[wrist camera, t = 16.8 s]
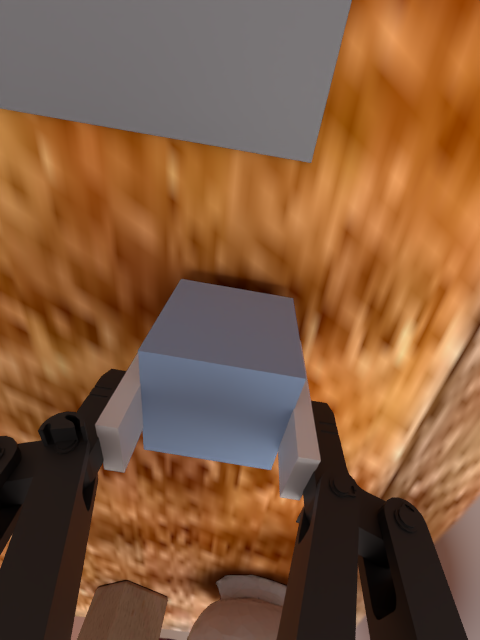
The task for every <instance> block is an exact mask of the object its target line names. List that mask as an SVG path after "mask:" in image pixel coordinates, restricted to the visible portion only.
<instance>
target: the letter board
mask: <svg viewBox="0 0 480 640" xmlns="http://www.w3.org/2000/svg"><path fill="white" fill-rule="evenodd" d="M351 1H352V0H0V108H2V109H7V110H13V111H19V112H24V113H30V114H36V115H41V116H47V117H53V118H59V119H64V120H70V121H76V122H81V123H87V124H93V125H98V126H104V127H110V128H116V129H121V130H127V131H133V132H138V133H144V134H150V135H155V136H161V137H167V138H173V139H178V140H184V141H190V142H195V143H201V144H207V145H212V146H218V147H224V148H230V149H235V150H241V151H247V152H252V153H258V154H264V155H269V156H275V157H281V158H287V159H292V160H298V161H304V162H309V163H311V161H312V157H313V153H314V149H315V145H316V141H317V137H318V133H319V129H320V125H321V121H322V117H323V113H324V109H325V105H326V101H327V97H328V93H329V89H330V85H331V81H332V77H333V73H334V69H335V65H336V61H337V57H338V53H339V49H340V45H341V41H342V37H343V33H344V29H345V25H346V21H347V17H348V13H349V9H350V5H351Z"/></svg>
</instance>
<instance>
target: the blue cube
mask: <svg viewBox="0 0 480 640" xmlns="http://www.w3.org/2000/svg"><path fill="white" fill-rule="evenodd" d="M138 358H139V375H140V384H141V399H142V414H143V444H144V449H145V450H151V451H157V452H163V453H169V454H176V455H182V456H188V457H194V458H200V459H206V460H212V461H219V462H225V463H231V464H237V465H243V466H249V467H255V468H262V469H268V470H271V468H272V465H273V463H274V460H275V458H276V455H277V452H278V449H279V446H280V443H281V441H282V438H283V435H284V433H285V430H286V427H287V425H288V422H289V419H290V417H291V414H292V411H293V409H295V406H296V404H297V401H298V399H299V396H300V394H301V391H302V389H303V386H304V383H305V381H306V374H305V368H304V362H303V356H302V350H301V344H300V338H299V332H298V326H297V319H296V313H295V307H294V301H293V298H289V297H283V296H277V295H272V294H266V293H260V292H254V291H249V290H243V289H237V288H231V287H226V286H220V285H214V284H208V283H203V282H197V281H191V280H185V279H181V280H180V282H179V283H178V285H177V287H176V288H175V290H174V292H173V293H172V295H171V297H170V298H169V300H168V302H167V303H166V305H165V307H164V308H163V310H162V312H161V313H160V315H159V317H158V318H157V320H156V322H155V323H154V325H153V327H152V328H151V330H150V332H149V333H148V335H147V337H146V338H145V340H144V342H143V343H142V345H141V347H140V348H139V350H138Z"/></svg>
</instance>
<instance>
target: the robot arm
mask: <svg viewBox="0 0 480 640" xmlns="http://www.w3.org/2000/svg"><path fill="white" fill-rule="evenodd" d="M300 344H301V341H300ZM301 350H302V345H301ZM302 356H303V351H302ZM303 362H304V357H303ZM304 368H305V363H304ZM305 374H306V369H305ZM142 430H143V414H142V399H141V384H140V375H139V358H138V353H137V355H136V356H135V358H134V360H133V362H132V363H131V365H130V367H129V368H128V370H127V371H122V370H116V369H111V370H109V371H108V372H107V373H105V374H104V375H103V376H101V378H100V379H99V381H98V382H97V383H96V385H95V387H94V388H93V389H92V391H91V392H90V394H89V396H88V397H87V398H86V399H85V401H84V402H83V404H82V405H81V407H80V408H79V410H78V411H77V413H76V412H63V413H58V414H56V415H54V416H52V417H50V418H49V419H47V420H46V421H45V422H44V423H43V424H42V425H41V427H40V428H39V430H38V432H39V435H40V437H41V441H35V442H28V443H21V444H17V443H16V441H15V440H14V439H13V438H11V437H8V436H0V555H1V553H2V551H3V549H4V548H5V546H6V544H7V542H8V541H9V539H10V537H11V536H12V537H11V540H10V543H9V546H8V549H7V552H6V554H5V557H4V560H3V563H2V566H1V568H0V640H71V634H72V628H73V622H74V617H75V611H76V605H77V599H78V594H79V588H80V582H81V576H82V570H83V565H84V559H85V553H86V547H87V541H88V536H89V530H90V524H91V518H92V512H93V507H94V501H95V495H96V489H97V483H98V474H97V473H98V471H99V469H100V467H101V465H102V463H103V465H104V469H105V470H111V471H117V472H125V470H126V468H127V465H128V463H129V461H130V458H131V456H132V453H133V451H134V449H135V446H136V444H137V442H138V439H139V437H140V434H141V432H142ZM278 457H279V485H280V497H282V498H288V499H295V500H300V498H301V496H302V495H303V496H304V507H303V509H302V511H301V513H300V514H299V516H298V518H297V521H296V522H297V523H299V527H298V532H297V537H296V542H295V547H294V553H293V558H292V563H291V568H290V573H289V578H288V583H287V588H286V593H285V599H284V604H283V609H282V614H281V619H280V624H279V629H278V634H277V639H276V640H355V631H356V601H357V571H358V567H359V573H360V579H361V585H362V591H363V598H364V604H365V610H366V616H367V622H368V628H369V634H370V640H468V638H467V636H466V633H465V630H464V627H463V624H462V622H461V619H460V616H459V613H458V610H457V608H456V605H455V602H454V600H453V597H452V594H451V591H450V588H449V586H448V583H447V580H446V577H445V574H444V572H443V569H442V566H441V563H440V560H439V558H438V555H437V552H436V549H435V546H434V544H433V541H432V538H431V535H430V533H429V530H428V527H427V524H426V522H425V520H424V518H423V516H422V515H421V513H420V512H419V511H418V510H417V509H416V508H415V507H414V506H413V505H412V504H410V503H409V502H408V501H406V500H404V499H401V498H391V499H389V500H387V501H384V500H382V499H380V498H378V497H376V496H374V495H372V494H370V493H368V492H366V491H364V490H363V489H361V488H360V487H359V486H358V485H357V484H356V482H355V480H354V479H353V478H352V477H351V476H350V475H349V473H348V470H347V467H346V463H345V459H344V455H343V451H342V447H341V442H340V438H339V435H338V430H337V426H336V422H335V418H334V413H333V412H332V410H331V409H330V407H329V406H328V404H327V403H322V402H316V401H311V399H310V393H309V387H308V381H307V375H306V381H305V383H304V386H303V389H302V391H301V394H300V396H299V399H298V401H297V404H296V406H295V409H293V411H292V414H291V417H290V419H289V422H288V425H287V427H286V430H285V433H284V435H283V438H282V441H281V443H280V446H279V449H278ZM12 534H13V535H12Z"/></svg>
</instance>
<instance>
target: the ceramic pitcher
mask: <svg viewBox="0 0 480 640" xmlns="http://www.w3.org/2000/svg"><path fill="white" fill-rule="evenodd" d="M216 584H217V586H218V588H219V593H220V595H221V599H220V601H216V602H214V603H212V604H210V605H209V606H208V607H207V608H206V609H205V610H204V611H203V612H202V613H201V615H200V616H199V617H198V619H197V620H196V622H195V623H194V625H193V627H192V629H191V631H190V634H189V636H188V638H187V640H276V639H277V634H278V629H279V624H280V619H281V614H282V609H283V604H284V599H285V593H286V588H287V585H283V584H280V583H277V582H275V581H271V580H268V579H265V578H261V577H258V576H255V575H240V576H237V575H227V576H225V577H224V578H222V579H220V580H219V581H217V582H216Z"/></svg>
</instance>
